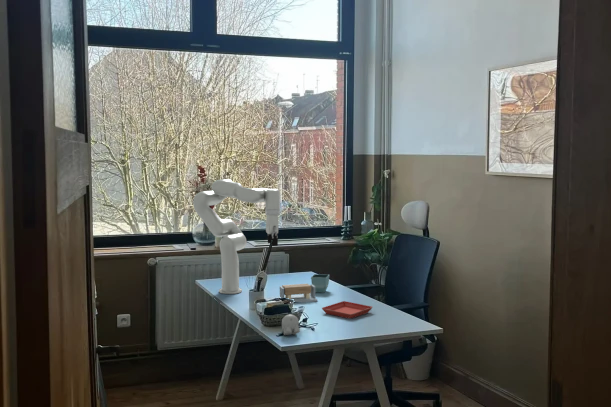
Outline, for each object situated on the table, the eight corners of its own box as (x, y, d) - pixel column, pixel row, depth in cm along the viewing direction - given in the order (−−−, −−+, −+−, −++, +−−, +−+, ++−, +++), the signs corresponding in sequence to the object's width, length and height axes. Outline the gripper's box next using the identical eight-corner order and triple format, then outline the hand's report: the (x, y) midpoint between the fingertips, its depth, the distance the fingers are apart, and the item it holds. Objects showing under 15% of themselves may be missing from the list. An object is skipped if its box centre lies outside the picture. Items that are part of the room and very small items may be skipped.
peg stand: (278, 297, 340) (277, 284, 339) (310, 295, 345) (310, 283, 344) (283, 303, 327) (283, 290, 327) (317, 301, 332) (317, 288, 332)
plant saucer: (350, 320, 296) (350, 313, 296) (320, 314, 308) (320, 307, 308) (373, 313, 310) (373, 306, 309) (343, 307, 321) (343, 300, 321)
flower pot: (310, 293, 352) (310, 276, 351) (314, 289, 360) (314, 273, 360) (326, 293, 350) (326, 277, 349) (329, 290, 358) (329, 274, 358)
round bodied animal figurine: (293, 336, 280) (291, 316, 282) (302, 332, 269) (299, 312, 271) (277, 337, 277) (276, 317, 280) (285, 334, 266) (283, 313, 269)
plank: (282, 292, 336) (282, 285, 336) (307, 291, 341) (307, 283, 340) (285, 295, 331) (285, 287, 330) (310, 293, 335) (310, 285, 335)
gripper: (262, 211, 346) (262, 242, 348) (269, 214, 330) (269, 247, 331) (275, 210, 348) (275, 241, 350) (283, 213, 332) (283, 246, 333)
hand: (272, 244), depth 340 cm, fingers open, 9 cm apart
